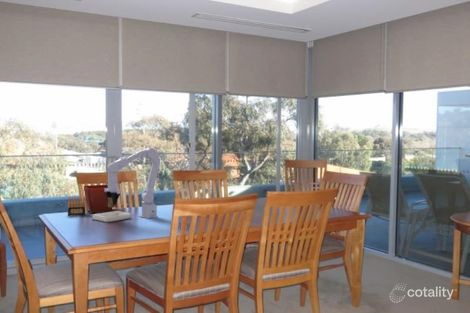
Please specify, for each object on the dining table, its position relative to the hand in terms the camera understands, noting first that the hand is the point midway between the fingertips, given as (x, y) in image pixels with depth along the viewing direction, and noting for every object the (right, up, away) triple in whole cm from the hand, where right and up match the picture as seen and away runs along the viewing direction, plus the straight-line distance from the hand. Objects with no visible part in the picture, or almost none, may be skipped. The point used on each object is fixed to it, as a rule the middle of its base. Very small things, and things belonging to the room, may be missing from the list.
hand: (112, 204), depth 282 cm
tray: (0, -9, -1) cm, 9 cm away
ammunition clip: (-26, -8, +11) cm, 30 cm away
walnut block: (0, -2, 0) cm, 2 cm away
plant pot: (-16, -8, +27) cm, 33 cm away
